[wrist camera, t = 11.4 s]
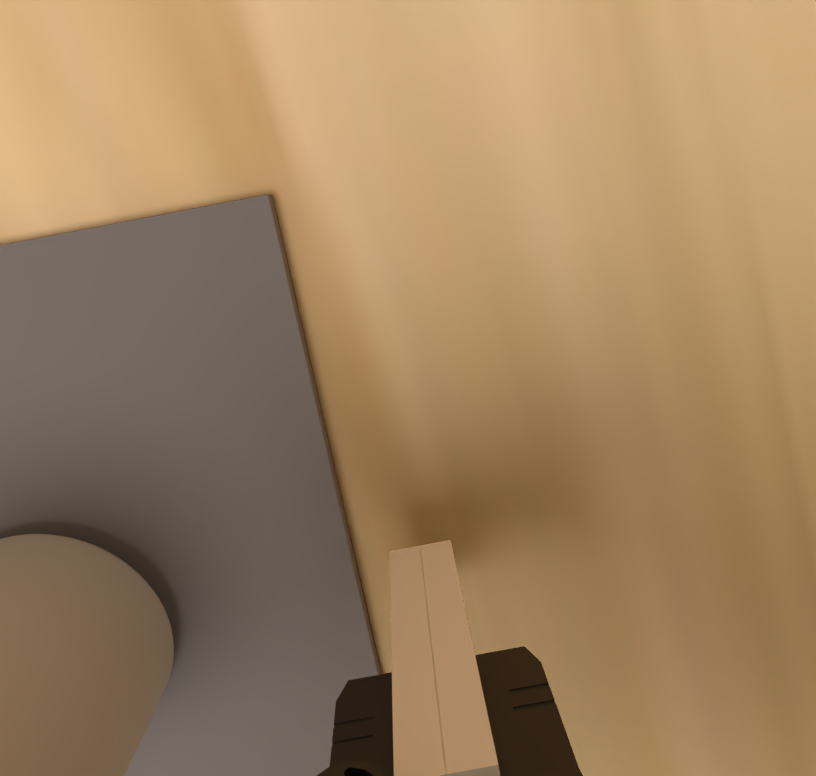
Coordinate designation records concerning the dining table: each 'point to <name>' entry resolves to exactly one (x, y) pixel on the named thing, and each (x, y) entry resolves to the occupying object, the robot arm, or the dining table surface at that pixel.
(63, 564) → the beverage can
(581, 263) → the dining table surface
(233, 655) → the mount
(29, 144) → the dining table surface
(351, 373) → the dining table surface
